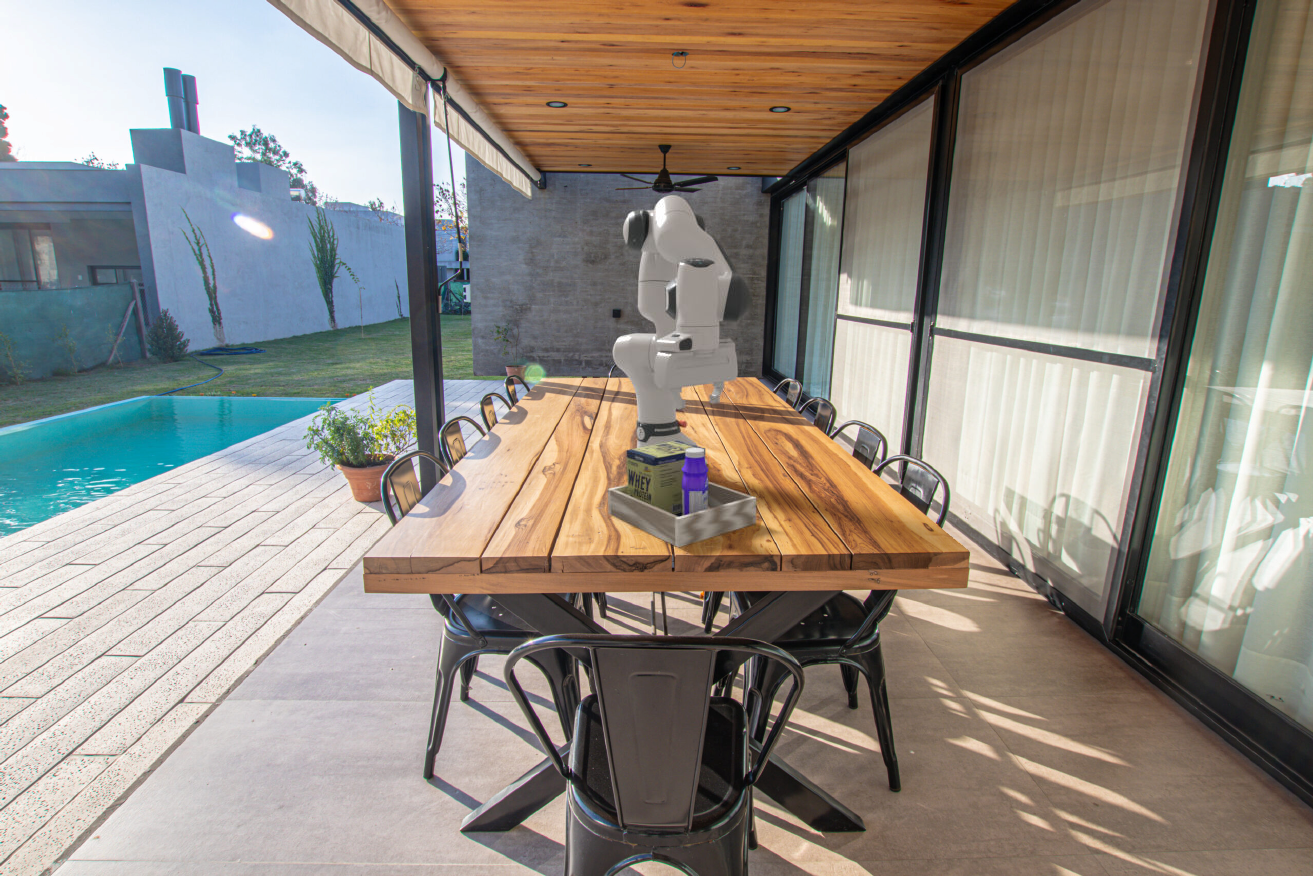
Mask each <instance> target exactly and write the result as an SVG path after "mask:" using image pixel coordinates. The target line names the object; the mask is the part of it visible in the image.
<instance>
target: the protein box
mask: <svg viewBox="0 0 1313 876" xmlns="http://www.w3.org/2000/svg"><path fill="white" fill-rule="evenodd" d="M689 448H701V449H704V455H705V456H706V448H705V447H701V446H698V445H697V446H695V445H691V444H688V443H684V442H681V441H672V442H667V443H662V444H657V445H652V446H647V447H641V448H637V447H636V448H631V449H626V476H627V478H626V479H627V480H626V482H627V485H628V495H629V496H631V497H633V498H636V499H638V500H641V501H643V502H645V503H648V504H650V505H652V506H655V507H657V508H659V509H662V510H664V511H666V512H669V513H671V514H673V515H676V516H678V517H680V516H682V478H683V474H684V473H683V471H682V468H683V466H684V464H685V457H686V456H685V455H686V449H689Z"/></svg>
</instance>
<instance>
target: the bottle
mask: <svg viewBox="0 0 1313 876" xmlns="http://www.w3.org/2000/svg"><path fill="white" fill-rule="evenodd" d="M685 456H686V457H685V464H684V466H683V468H682V471H683V473H684V474H683V478H682V516H684V515H688V514H691V513H695V512H699V511H702V510H706V509H709V508H708V482H709V477H708V474H707V473H708V472H709V468H708V466H707V464H706V463H705V460H706V454H705V455H704V449H701V448H689V449H686V455H685Z"/></svg>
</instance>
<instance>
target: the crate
mask: <svg viewBox="0 0 1313 876" xmlns="http://www.w3.org/2000/svg"><path fill="white" fill-rule="evenodd" d="M607 501H608V502H607V504H608V514H609V515H611V516H613V517H615V518H617V519H619V520H621V521H623V522H625V523H627V524H629V525H631V526H633V527H636V528H637V529H640V530H642V531H643V532H646V533H648V534H649V535H652V536H654V537H655V538H658V539H660V540H662V541H665V542H666V543H669V545H672V546H675V547H676V548H681V547H684V546H688V545H691V544H695V543H696V542H701V541H704V540H707V539H709V538H714V537H717V536H719V535H722V534H723V535H724V534H726V533H730V532H733V531H736V530H739V529H742V528H746V527H748V526H749V527H750V526H753V525H755V524H757V523H756V522H757V497H755V496H752V495H749V494H747V493H743V492H740V491H739V490H736V489H735V490H734V489H732V488H729V487H725V486H723V485H720V484H717V483H714V482H710V481H708V509H706V510H702V511H699V512H695V513H691V514H688V515H684V516H680V517H678V516H676V515H673V514H671V513H669V512H666V511H664V510H662V509H659V508H657V507H655V506H652V505H650V504H648V503H645V502H643V501H641V500H638V499H636V498H633V497H631V496H629V495H628V484H624V485H619V486H615V487H610V488H607Z"/></svg>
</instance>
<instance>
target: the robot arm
mask: <svg viewBox="0 0 1313 876" xmlns="http://www.w3.org/2000/svg"><path fill="white" fill-rule="evenodd" d="M653 208H654V209H650V210H649V209H647V210H646V209H635V210H633V211H631V212H629V213H628V214H627V215H626V218H625V220H624V222H623V228H622V234H623V235H622V236H623V239H624V241H625V242H624V243H625V245H626V247H627V248H628V249H629V250H632V251H635V252H638V253H642V254H641V257H640V262H639V271H638V283H637V284H638V286H637V287H638V288H637V289H638V290H637V292H638V293H637V310H638V311H639V313H640V315H641V316H643V317H644V318H645V319H647V320H648V321H650V322H652V323H653V324H654V326H655V331H656V333H629V334H626V335H621V336H619V337H617V339H616V341H615V342H614V344H613V347H612V358H613V361H614V363H615V365H616V366H617V368H619V369H620V370H622V372H624V374H625V375H626V376H627V378H628V379H629V381H630V382H631V384H632V386H633V389H634V392H635V396H636V406H637V407H636V409H637V420H636V424H635V425H636V438H637V440H636V441H637V442H636V444H637V445H636V448H641V447H647V446H652V445H657V444H662V443H667V442H672V441H681V442H684V443H688V444H691V445H695V446H698V444H697V443H696V442H695V440H693V439H691V438H690V437H689V436H688V435H686V434H685V433H683V432H682V428H684V429H686V428H687V427H688V422H687V421H686V420H680V421H679V420H678V419H677V412H676V411H677V410H683V409H686V403H687V400H686V399H683V398H682V396H681V393H682V392H683V390H682V389H683V388H687V387H695V386H701V385H709V384H710V385H711V384H712V387H714V388H713V391H712V394H709V395H708V398H709V399H708V400H709V401H708V402H709V403H710V404H713V405H715V404H719V403H720V402H721V400H720V398H721V395H722V392H723V390H724V388H725V382H733V381H735V380H736V379H737V377H738V372H739V371H738V358H737V357H738V356H737V351H736V343H735V342H734V341H733V340H732V339H731V337H724V338H723V337H722V338H721V337H720V322H724V323H738V322H739V321H740V320H741V319H742V318H743V317H745V316H746V315H747V314H748V313H749V310H750V308H751V299H752V297H751V290H750V286H749V284H748V282H747V281H746V280H745V278H744V277H743V276H742V275H741V274H740V273H739V272H738V271H737V269H736V267H735V265H734V264H733V262H732V260H731V259H730V258H729V256H728V254H727V252H726V251H725V249H724V247H723V246H722V245H721V242H719V240H718V239H717V238H716V237H714V236H712V235H710V234H708V233H707V227H706V225H707V224H706V221H705V219H704V217H703V216H702V215H700V214H698V213H695V212H694V211H693V210H692V208H691V206H690V205H689V202H688V201H687V200H686V199H685V198H683V197H681V196H678V195H677V194H676V195H675V194H674V195H672V194H671V195H669V194H668V195H667V196H664V197H662V198H661V199H660V200H658V202H657V203H655V206H654V207H653ZM705 463H706V465H708V461H707V459H705Z"/></svg>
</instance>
